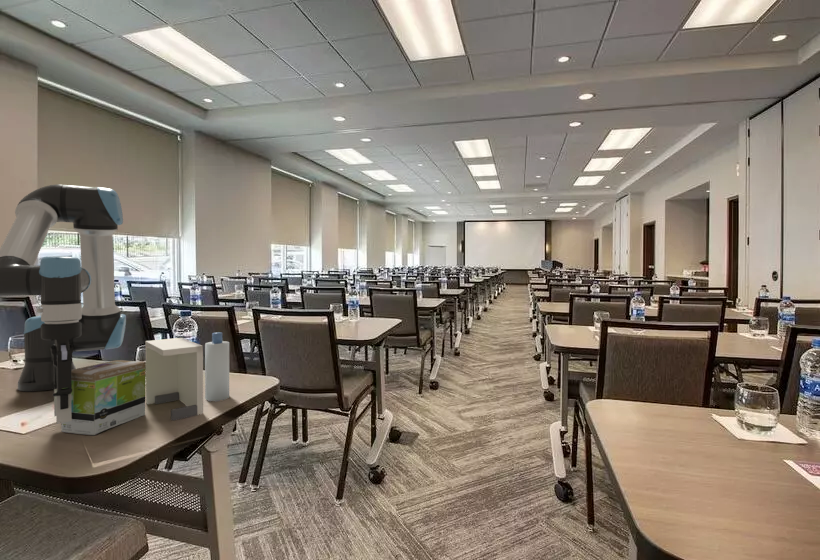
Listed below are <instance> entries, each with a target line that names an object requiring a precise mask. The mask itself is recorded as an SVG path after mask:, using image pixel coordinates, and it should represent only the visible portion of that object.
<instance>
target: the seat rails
mask: <svg viewBox="0 0 820 560" xmlns="http://www.w3.org/2000/svg"><path fill="white" fill-rule="evenodd" d="M175 401H180V400H179V393H178V392H175V393H169V394H163V395H158V396H155V403H154V404H155V405H159V404H164V403H169V402H175ZM195 415H196V416H198V415H197V405H191V406H186V405H185V406H182V407H177V408H172V409H170V420H171V421H176V420H182V419H186V417H187V418H190V417H195Z"/></svg>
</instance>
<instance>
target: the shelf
mask: <svg viewBox="0 0 820 560" xmlns="http://www.w3.org/2000/svg"><path fill="white" fill-rule="evenodd" d="M145 362H146V376H145V380H146V385H145V405H152V404H155V396H158V395H163V394H169V393H175V392H178V393H179V400H178V401H180V403H183V404H184V405H185V407H186V406H191V405H197V415H196V416H199V414H200V415H203V414H204V369H203V368H204V345H203V344H202V345H201V344H199V343H196V342H194V341H192V340H189V339H186V338H184V337H176V338H175V337H173V338H164V339H153V340H145ZM202 413H203V414H202Z"/></svg>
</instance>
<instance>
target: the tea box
mask: <svg viewBox="0 0 820 560" xmlns="http://www.w3.org/2000/svg"><path fill="white" fill-rule="evenodd" d="M71 378H72V393H71V414H72V421H69V422H64V423H60V424H61V427H60V431H61V432H63V433H67V434H68V433H69V434H78V435H87V436H96V435H98V434H100V433H102V432H105V431H106V430H109V429H112V428H114V427H117V426H121V425H122V424H125V423H128V422H130V421H132V420H136V419H138V418H141V417H143V416H145V415H146V361H137V360H136V361H135V360H134V361H133V360H123V359H115V360H110V361H105V362H102V363H97V364H92V365H88V366H83V367H77V368H76V369H73V370H71ZM62 389H64V388H62Z"/></svg>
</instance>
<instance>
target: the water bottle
mask: <svg viewBox="0 0 820 560" xmlns="http://www.w3.org/2000/svg"><path fill="white" fill-rule="evenodd" d="M204 355H205V357H204V366H205V367H204V370H205V371H204V375H205V376H204V378H205V379H204V384H205V385H204V394H205V395H204V396H205V397H204V398H205V399H206V400H208V401H207V402H211V401H215V402H221V401H220V400H222V401H225V399H226V400H228V399H229V398H230V342H229V341H226V340H225V341H224V340H223V332H219V331H218V332H212V333H211V341H209V342H205V344H204ZM227 398H228V399H227ZM206 400H205V401H206Z"/></svg>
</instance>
